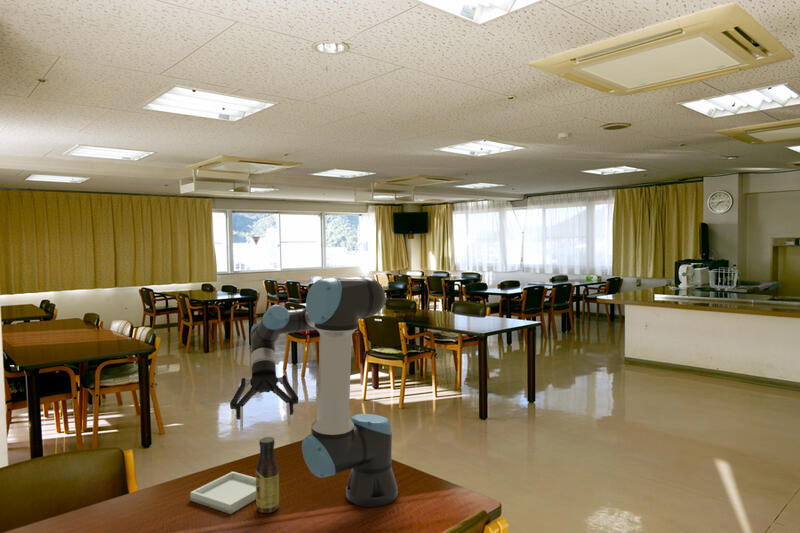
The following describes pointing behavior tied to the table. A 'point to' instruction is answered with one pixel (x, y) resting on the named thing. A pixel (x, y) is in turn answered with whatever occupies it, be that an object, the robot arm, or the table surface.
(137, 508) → the table surface
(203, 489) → the tray
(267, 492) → the sauce bottle
